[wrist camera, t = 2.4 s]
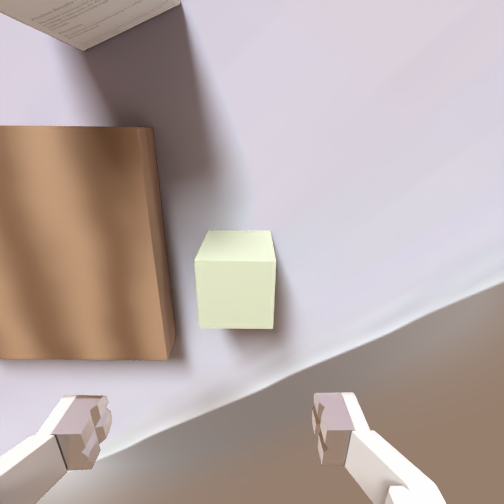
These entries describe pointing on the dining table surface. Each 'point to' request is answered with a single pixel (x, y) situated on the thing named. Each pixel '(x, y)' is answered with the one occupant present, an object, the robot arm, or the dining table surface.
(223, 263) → the sage block
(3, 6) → the supplement box
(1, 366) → the dining table surface
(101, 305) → the walnut stand
